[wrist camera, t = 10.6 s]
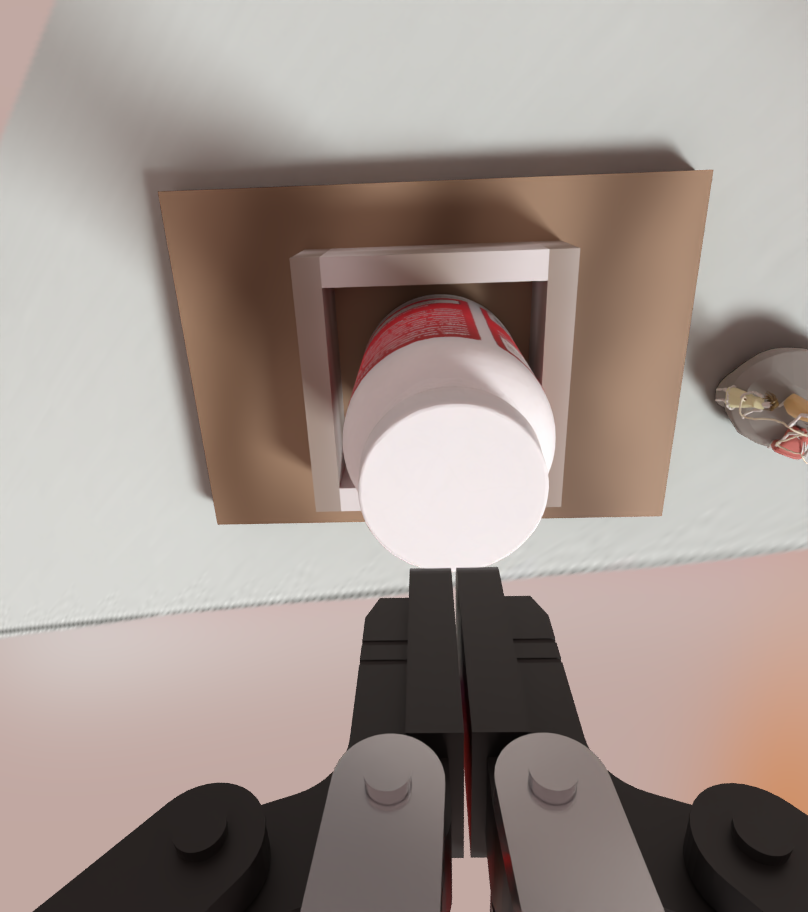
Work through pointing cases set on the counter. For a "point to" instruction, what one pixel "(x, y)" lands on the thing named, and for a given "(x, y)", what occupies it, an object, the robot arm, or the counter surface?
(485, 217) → the bottle holder
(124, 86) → the counter surface
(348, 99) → the counter surface
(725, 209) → the counter surface
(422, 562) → the pill bottle
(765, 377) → the figurine
